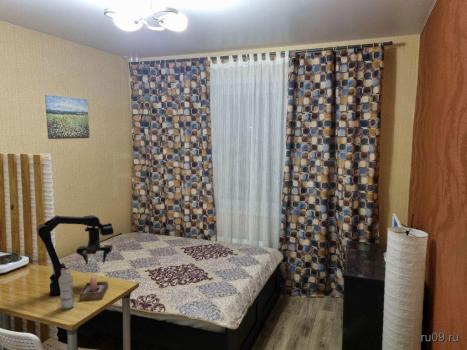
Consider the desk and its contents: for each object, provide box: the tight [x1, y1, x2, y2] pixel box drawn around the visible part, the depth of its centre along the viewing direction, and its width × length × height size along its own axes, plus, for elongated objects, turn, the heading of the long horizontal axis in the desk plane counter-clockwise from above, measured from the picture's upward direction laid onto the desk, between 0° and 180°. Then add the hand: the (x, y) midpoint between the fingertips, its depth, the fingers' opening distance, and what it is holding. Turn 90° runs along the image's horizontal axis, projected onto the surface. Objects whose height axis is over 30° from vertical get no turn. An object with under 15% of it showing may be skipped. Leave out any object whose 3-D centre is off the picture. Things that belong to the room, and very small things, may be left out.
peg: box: [89, 276, 98, 292], centre depth 183 cm, size 3×3×9 cm
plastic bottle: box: [59, 267, 75, 310], centre depth 168 cm, size 6×7×20 cm
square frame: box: [79, 281, 109, 301], centre depth 183 cm, size 11×13×4 cm
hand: (95, 263), depth 195 cm, fingers open, 9 cm apart
